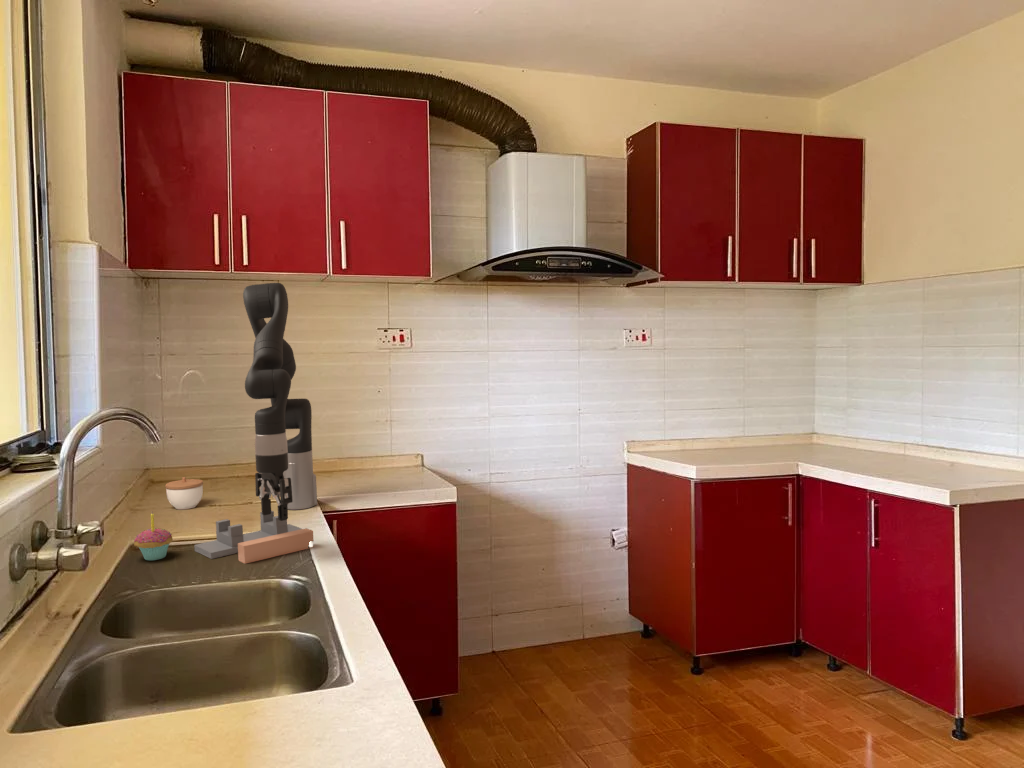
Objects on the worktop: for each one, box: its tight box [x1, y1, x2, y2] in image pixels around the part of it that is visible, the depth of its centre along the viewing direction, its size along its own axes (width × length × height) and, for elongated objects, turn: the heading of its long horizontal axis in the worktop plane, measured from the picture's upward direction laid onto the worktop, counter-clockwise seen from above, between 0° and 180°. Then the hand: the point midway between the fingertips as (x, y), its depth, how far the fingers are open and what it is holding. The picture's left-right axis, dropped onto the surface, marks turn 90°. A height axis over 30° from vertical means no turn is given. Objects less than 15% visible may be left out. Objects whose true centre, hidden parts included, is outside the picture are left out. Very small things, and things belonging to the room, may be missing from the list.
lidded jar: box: [164, 476, 204, 511], centre depth 241 cm, size 11×11×9 cm
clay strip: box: [237, 527, 314, 564], centre depth 191 cm, size 18×4×4 cm, turn 133°
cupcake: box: [133, 511, 173, 561], centre depth 190 cm, size 9×8×12 cm
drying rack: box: [193, 510, 303, 560], centre depth 200 cm, size 26×10×6 cm, turn 134°
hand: (274, 517), depth 190 cm, fingers open, 8 cm apart
